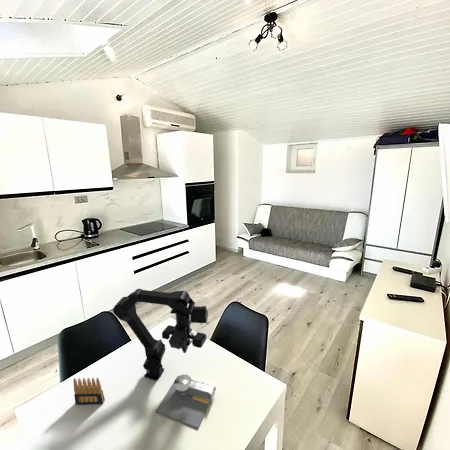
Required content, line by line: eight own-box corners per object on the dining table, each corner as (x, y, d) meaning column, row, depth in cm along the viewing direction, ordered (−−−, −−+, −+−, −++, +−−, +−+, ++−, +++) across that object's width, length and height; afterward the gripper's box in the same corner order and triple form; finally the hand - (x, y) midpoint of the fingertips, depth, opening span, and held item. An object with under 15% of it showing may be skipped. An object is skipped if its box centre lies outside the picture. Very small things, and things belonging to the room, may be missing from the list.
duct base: (155, 412, 93) (154, 406, 92) (178, 376, 108) (177, 371, 108) (198, 428, 87) (197, 422, 86) (215, 388, 103) (215, 382, 102)
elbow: (171, 395, 98) (170, 386, 97) (179, 380, 105) (179, 372, 104) (210, 406, 94) (209, 397, 93) (216, 390, 100) (215, 381, 99)
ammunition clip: (104, 400, 98) (100, 375, 95) (102, 404, 96) (98, 379, 93) (78, 400, 98) (73, 376, 95) (75, 404, 96) (70, 380, 93)
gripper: (152, 328, 98) (155, 360, 102) (194, 338, 92) (196, 372, 96) (167, 312, 108) (170, 342, 112) (206, 321, 102) (207, 352, 106)
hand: (185, 352), depth 106 cm, fingers closed
